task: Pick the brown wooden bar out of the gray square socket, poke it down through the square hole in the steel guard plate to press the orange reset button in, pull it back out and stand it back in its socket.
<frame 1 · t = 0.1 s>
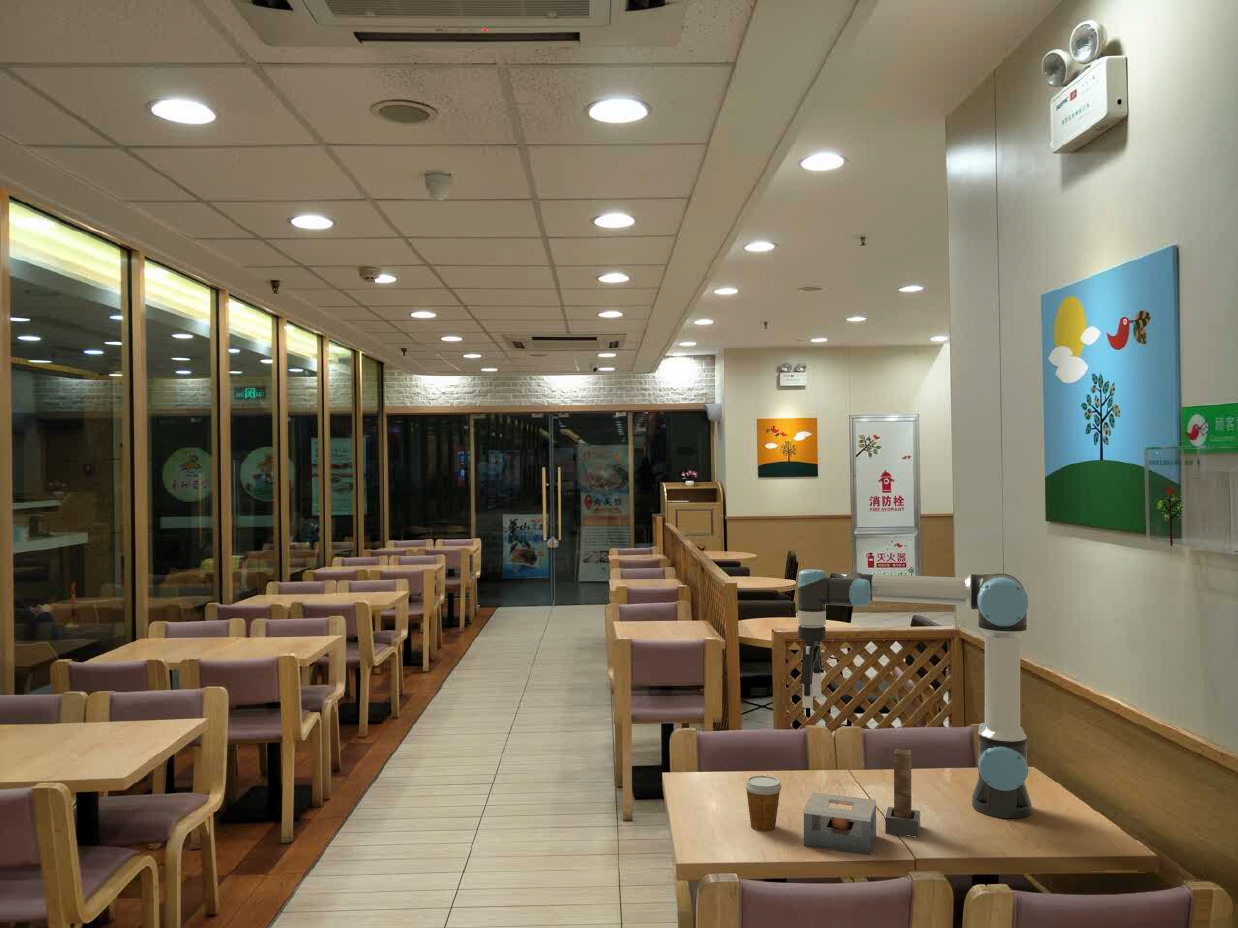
hand: (812, 701, 264), 28 cm above the table, tool pointing down, fingers open, 13 cm apart
brown wooden bar: (902, 790, 244), in the gray square socket
gray square socket: (902, 829, 244), on the table
disposable coffee cup: (763, 827, 246), on the table
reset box: (840, 840, 237), on the table
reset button: (840, 820, 237), point 5 cm above the table, slide at 0.0 cm
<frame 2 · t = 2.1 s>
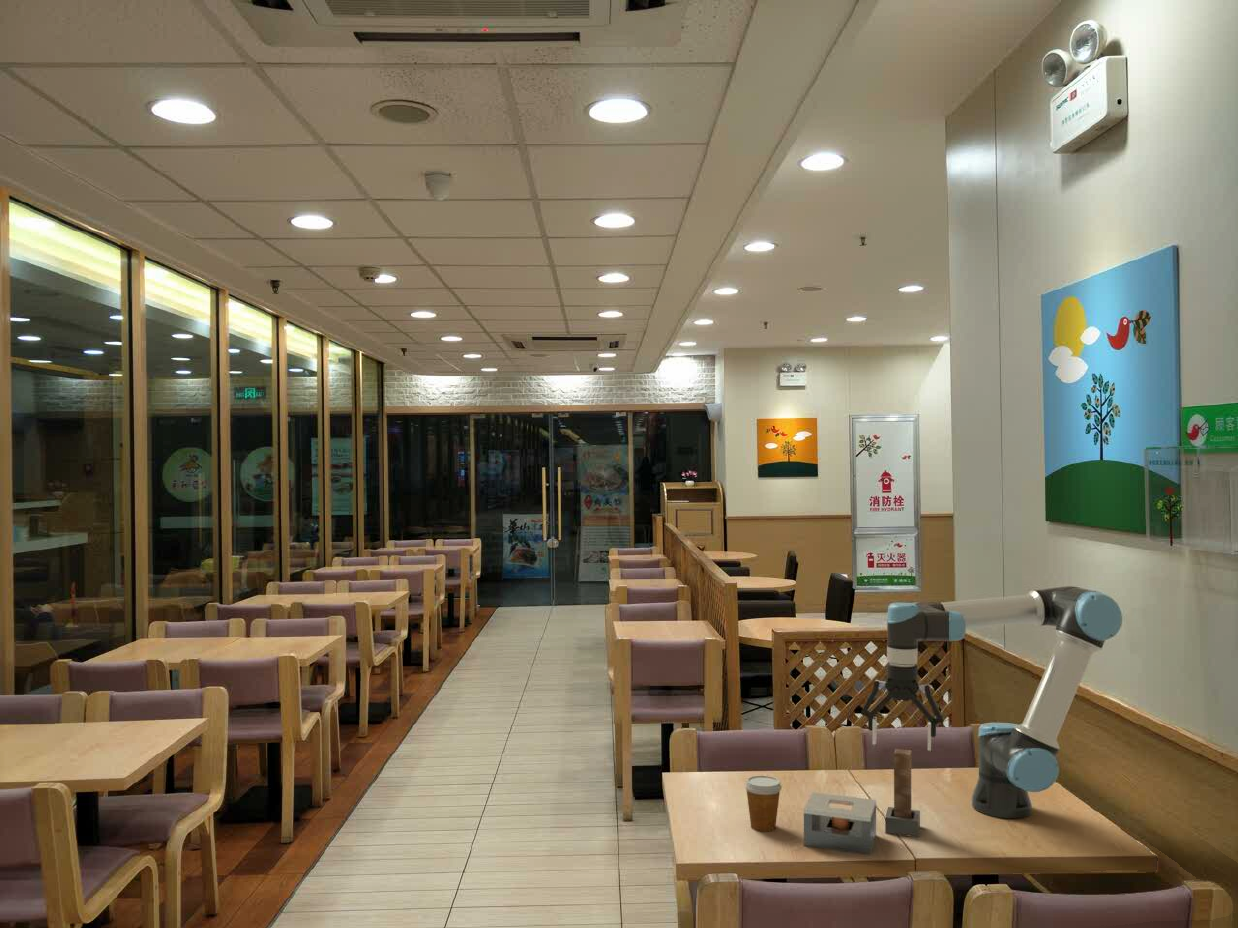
hand: (901, 746, 244), 21 cm above the table, tool pointing down, fingers open, 13 cm apart
nothing on the table moved.
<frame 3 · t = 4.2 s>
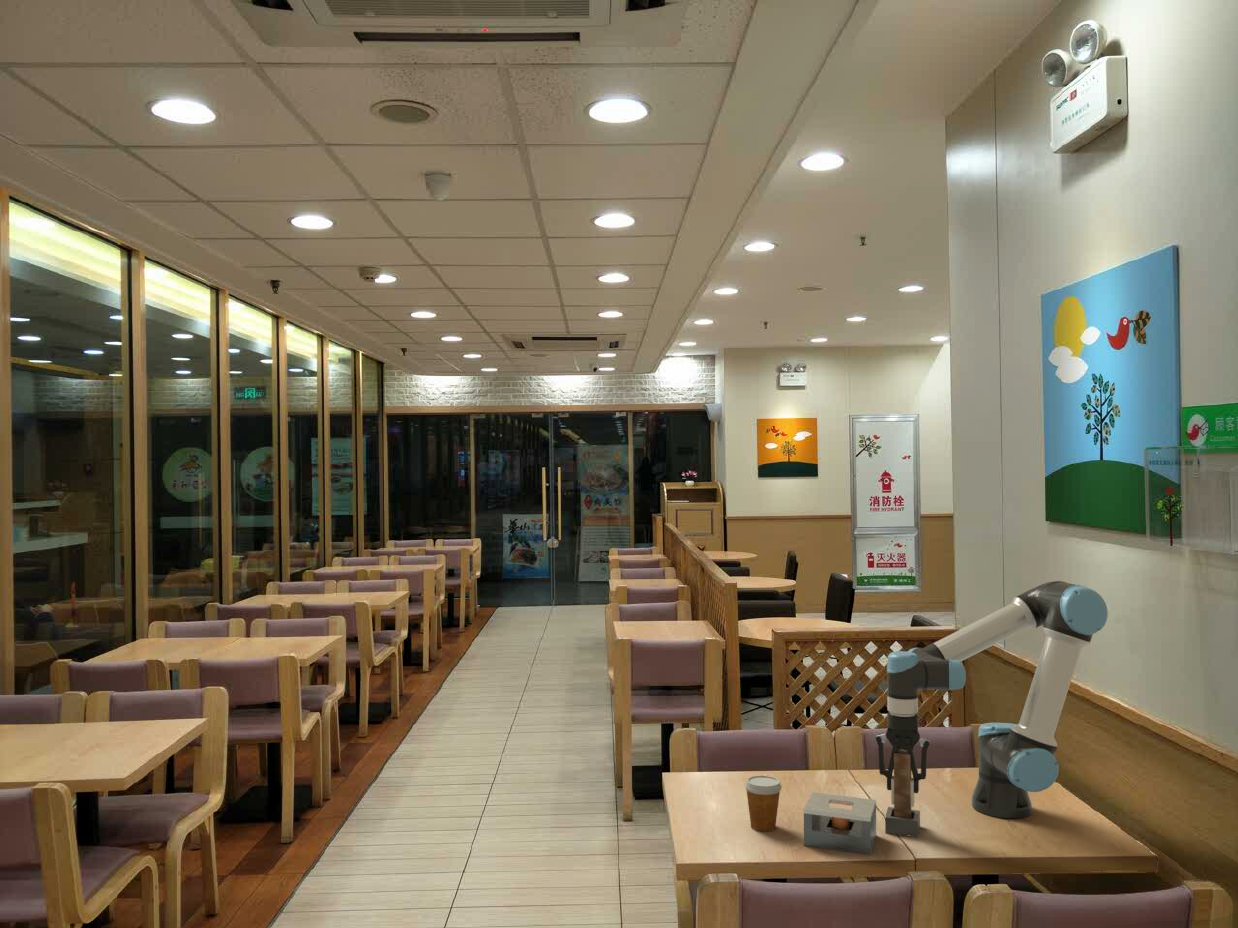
hand: (902, 803, 244), 7 cm above the table, tool pointing down, fingers closed on brown wooden bar, 4 cm apart
brown wooden bar: (902, 790, 244), in the gray square socket, touching gripper
everything else where it was.
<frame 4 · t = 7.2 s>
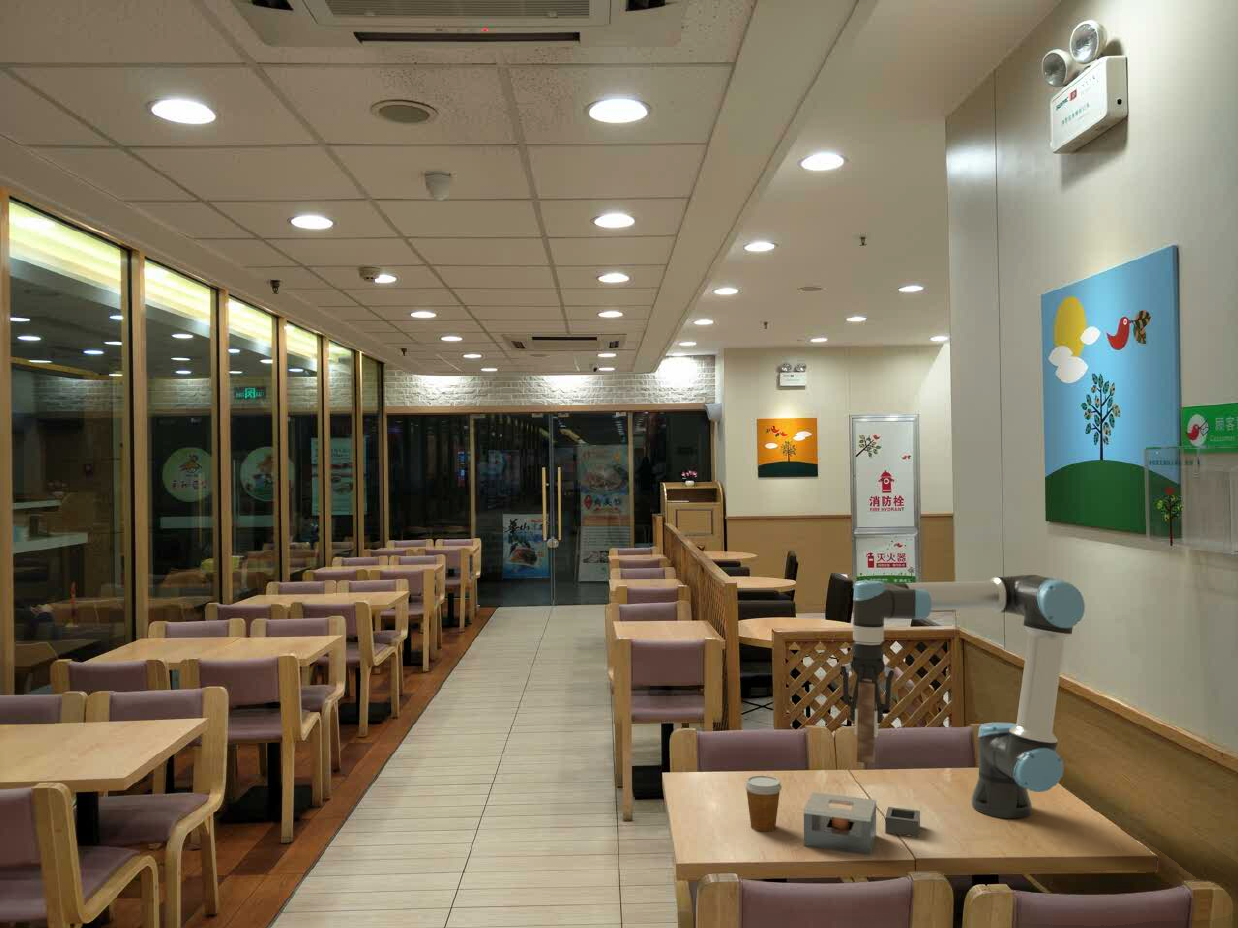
hand: (866, 734, 240), 26 cm above the table, tool pointing down, fingers closed on brown wooden bar, 4 cm apart
brown wooden bar: (866, 720, 240), point 29 cm above the table, touching gripper
everything else where it was.
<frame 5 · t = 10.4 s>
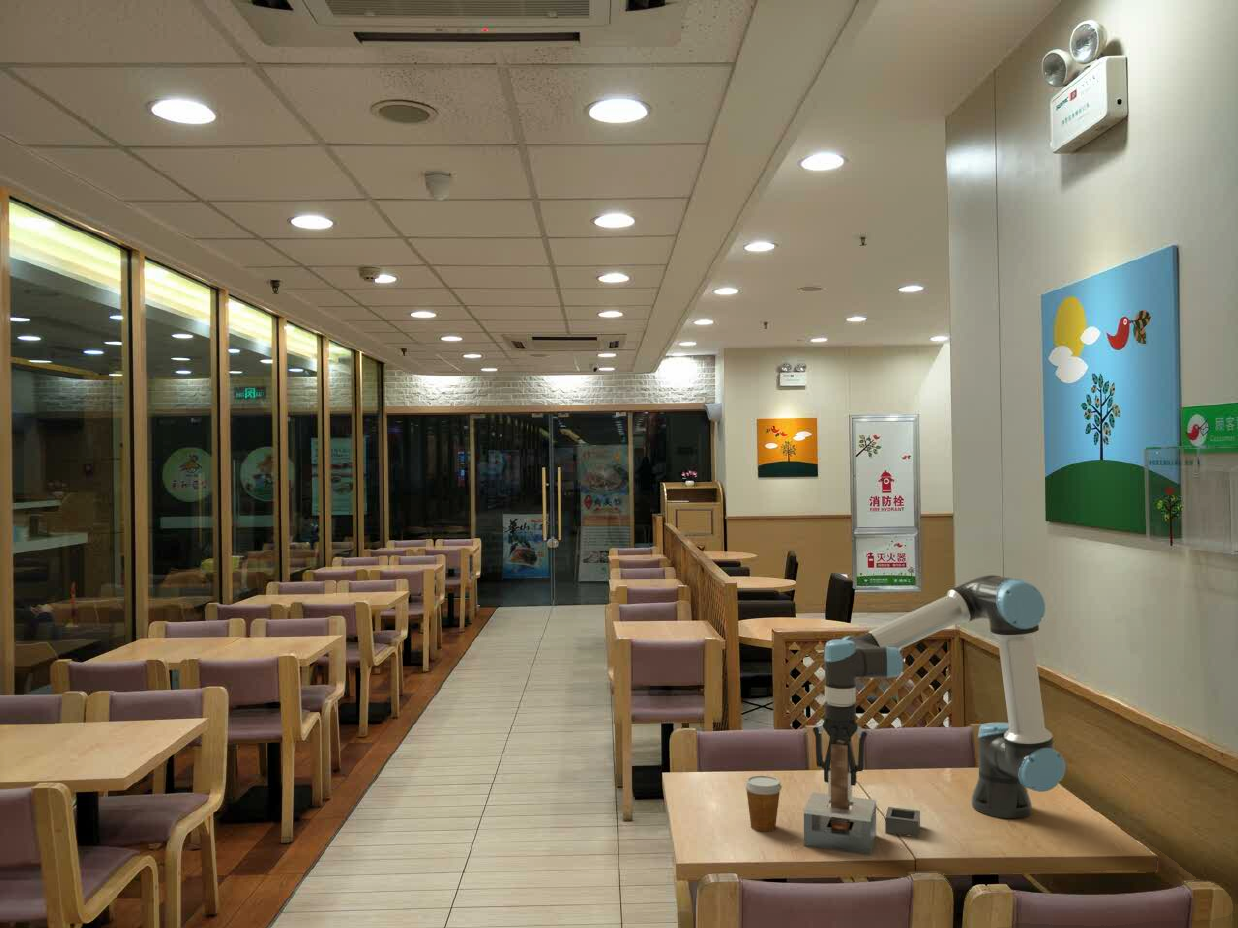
hand: (840, 796, 237), 11 cm above the table, tool pointing down, fingers closed on brown wooden bar, 4 cm apart
brown wooden bar: (840, 782, 237), point 14 cm above the table, touching gripper, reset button
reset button: (840, 830, 237), point 2 cm above the table, slide at 2.6 cm, touching brown wooden bar
everything else where it was.
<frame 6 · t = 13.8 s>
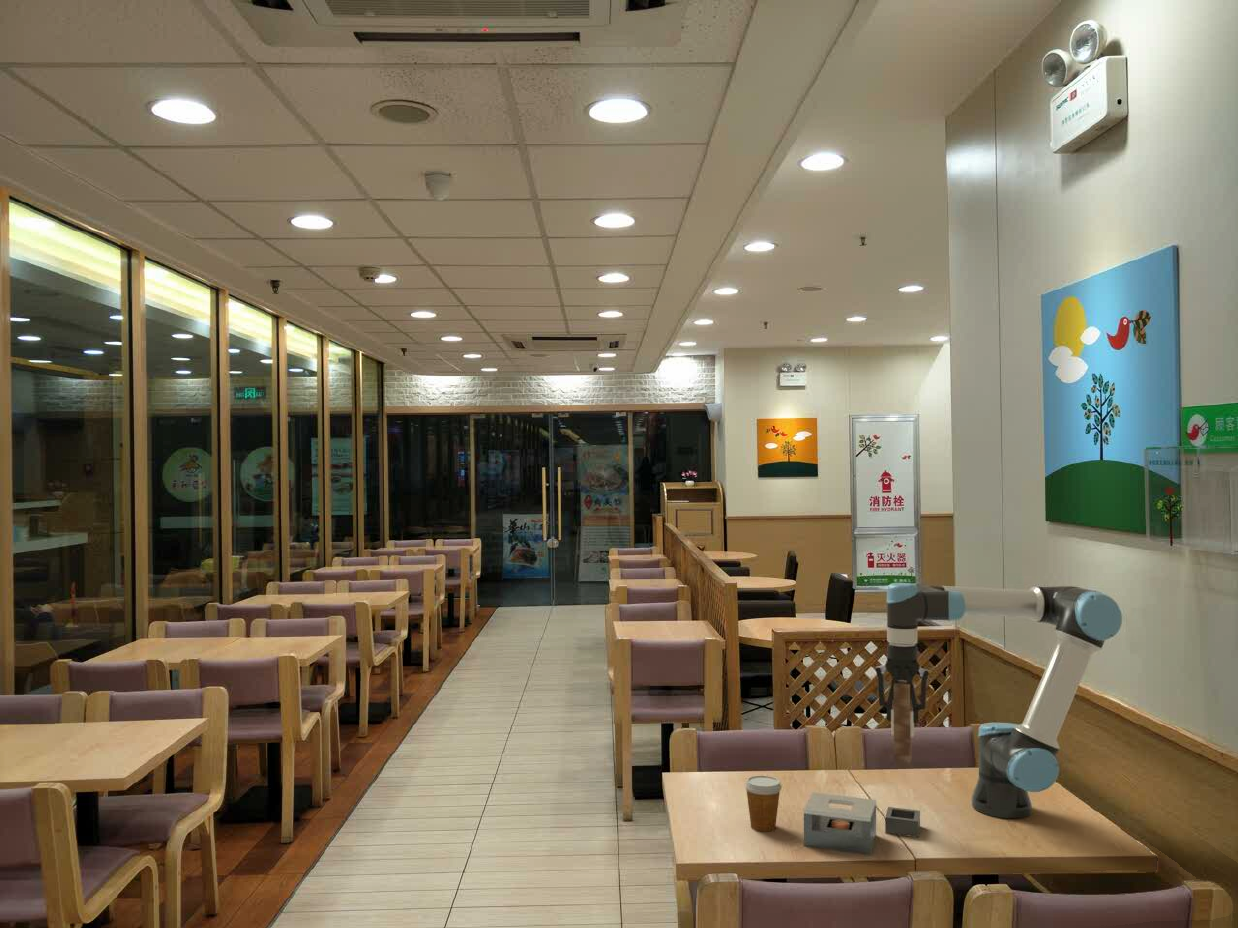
hand: (902, 734, 244), 24 cm above the table, tool pointing down, fingers closed on brown wooden bar, 4 cm apart
brown wooden bar: (902, 720, 244), point 28 cm above the table, touching gripper
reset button: (840, 830, 237), point 2 cm above the table, slide at 2.6 cm
everything else where it was.
when the fingers open (8 cm above the table, at t = 17.1 s): brown wooden bar drops 2 cm, resting in gray square socket.
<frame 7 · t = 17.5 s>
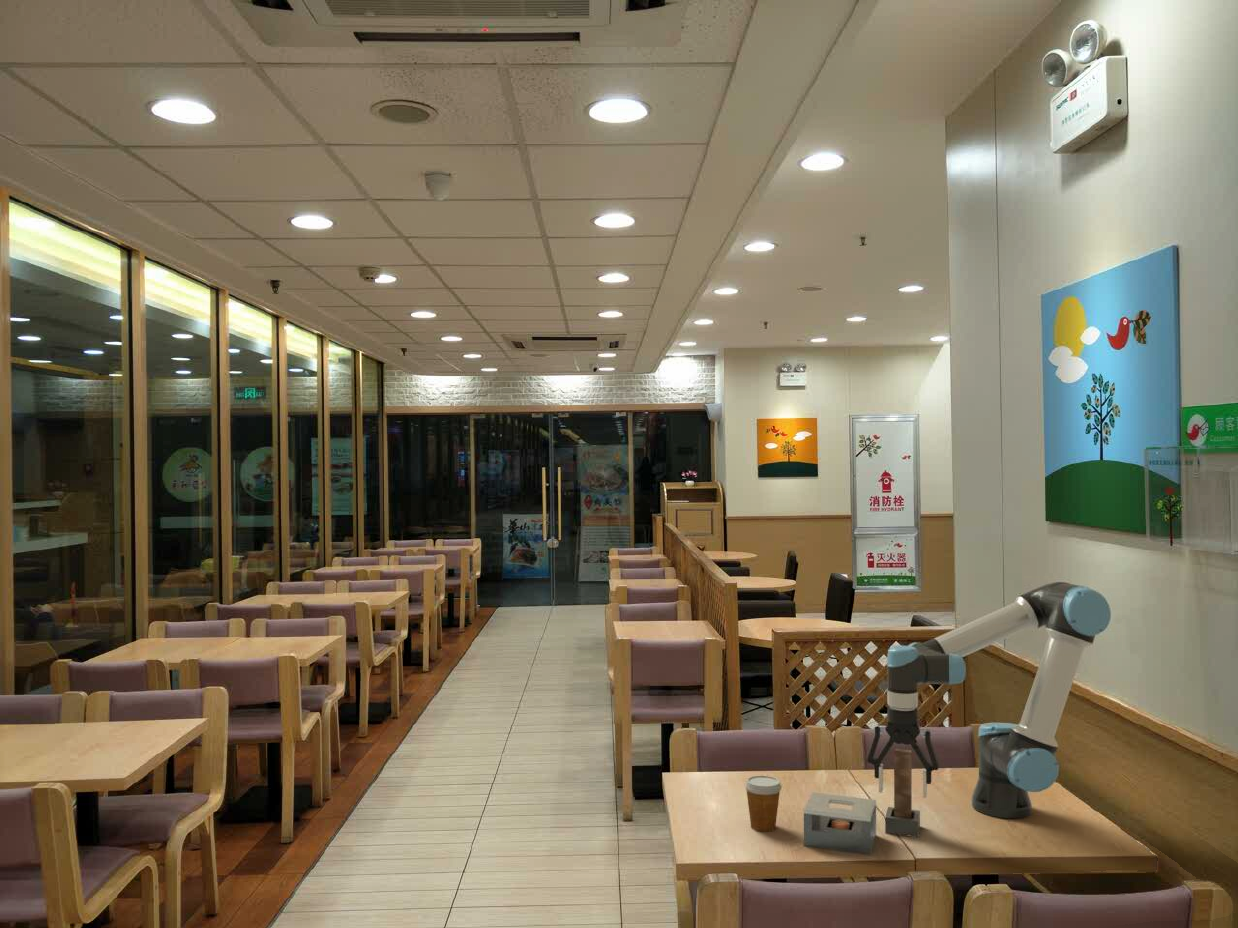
hand: (902, 793, 244), 9 cm above the table, tool pointing down, fingers open, 10 cm apart
brown wooden bar: (902, 790, 244), in the gray square socket
everything else where it was.
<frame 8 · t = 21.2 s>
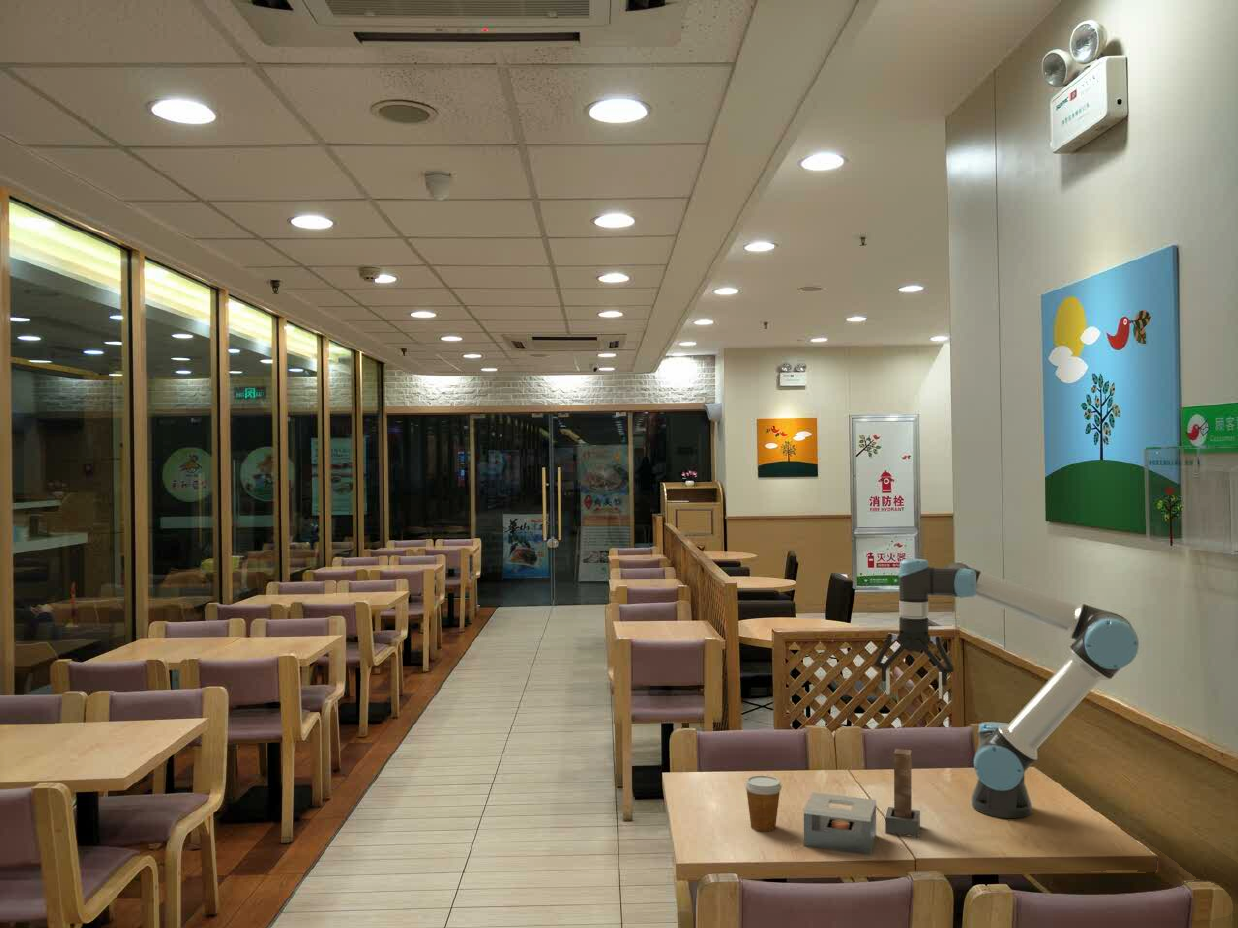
hand: (914, 695, 256), 32 cm above the table, tool pointing down, fingers open, 13 cm apart
nothing on the table moved.
at the end: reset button slide at 2.6 cm; brown wooden bar 0.0 cm off-centre on the gray square socket, point 10.0 cm above the gray square socket's base; the gripper is holding nothing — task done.
